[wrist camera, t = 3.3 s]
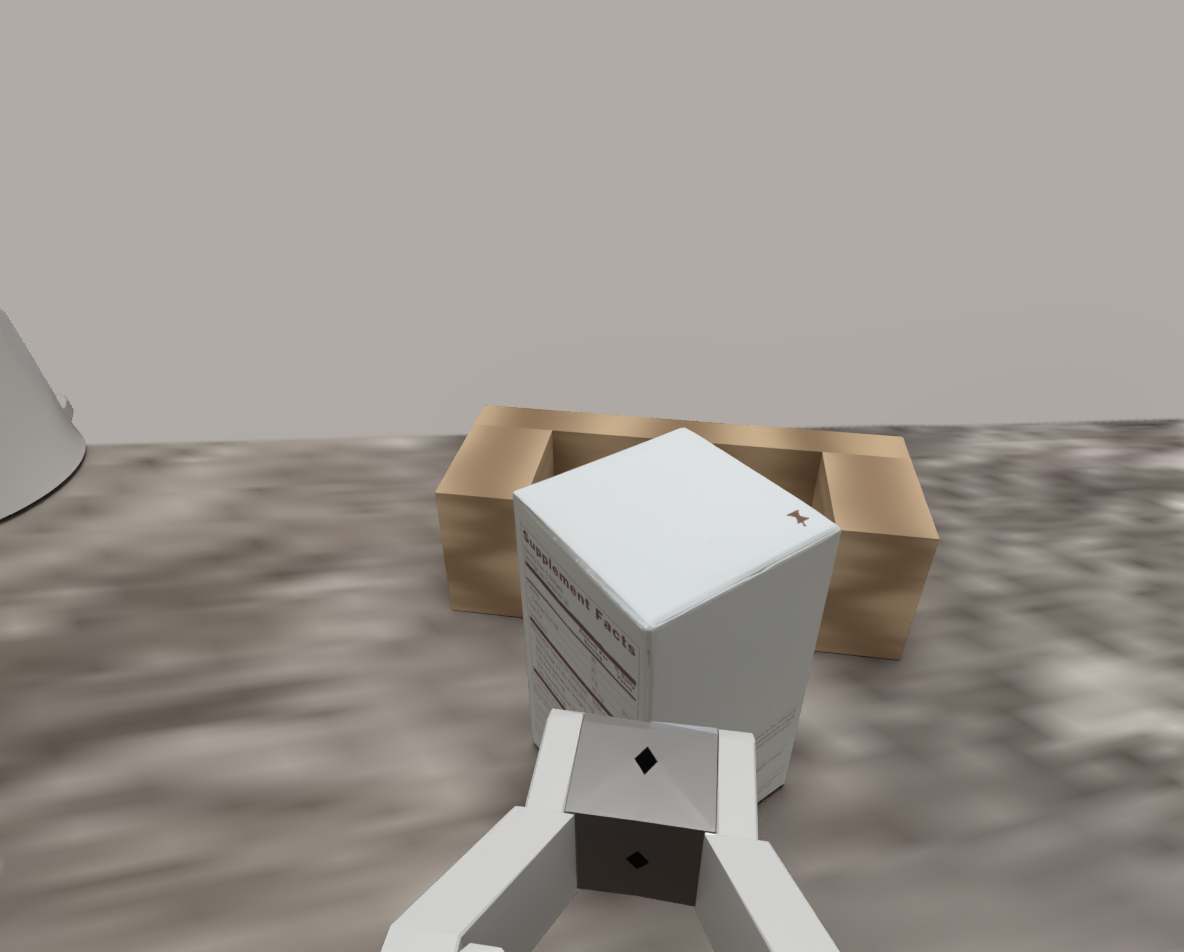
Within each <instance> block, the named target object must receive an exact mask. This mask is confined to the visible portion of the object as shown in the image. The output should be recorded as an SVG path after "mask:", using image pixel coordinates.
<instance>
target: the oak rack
mask: <svg viewBox="0 0 1184 952" xmlns="http://www.w3.org/2000/svg"><path fill="white" fill-rule="evenodd" d="M679 428H687V429H688V430H690V431H692V432H694V433H696V434H697V435H699V436H701V437H702V438H704V439H705V440H707V441H708V442H710V443H712V444H713V445H714V446H716V447H718V448H719V449H721V450H723V451H724V452H726V453H727V454H729V455H730V456H732V457H734V458H735V459H737V460H738V461H740V462H741V463H743V464H745V465H746V466H748V467H749V468H751V469H752V470H754V471H755V472H757V473H759V474H760V475H762V476H764V477H765V478H767V479H768V480H770V481H771V482H773V483H775V484H776V485H778V486H779V487H781V488H782V489H784V490H786V491H787V492H789V493H790V494H792V495H794V496H795V497H797V498H798V499H800V500H801V501H803V502H804V503H806V504H807V505H809V506H810V507H812V508H813V509H815V510H816V511H818V512H819V513H820V514H822V515H823V516H825V517H826V518H827V519H829V520H830V521H832V522H833V523H835V524H836V525H837V526H839V527H840V528H841V535H840V539H839V544H838V548H837V553H836V557H835V562H834V566H833V571H832V575H831V579H830V584H829V588H828V593H827V597H826V602H825V606H824V611H823V615H822V620H821V624H820V628H819V633H818V637H817V642H816V646H815V651H823V652H832V653H841V654H850V655H859V656H868V657H877V658H885V659H894V660H900V657H901V654H902V651H903V648H904V645H905V642H906V639H907V636H908V633H909V630H910V627H911V624H912V621H913V618H914V615H915V612H916V609H917V606H918V603H919V600H920V597H921V594H922V591H923V587H924V584H925V581H926V578H927V575H928V572H929V569H930V566H931V563H932V560H933V557H934V554H935V551H936V548H937V545H938V542H939V536H938V534H937V531H936V528H935V525H934V523H933V520H932V517H931V514H930V511H929V509H928V506H927V503H926V500H925V498H924V495H923V492H922V489H921V486H920V484H919V481H918V478H917V475H916V473H915V470H914V467H913V464H912V461H911V459H910V456H909V453H908V450H907V448H906V445H905V442H904V439H903V437H896V436H883V435H870V434H856V433H843V432H830V431H817V430H804V429H791V428H778V427H765V426H751V425H738V424H725V423H712V422H699V421H686V420H672V419H660V418H647V417H634V416H619V415H607V414H594V413H581V412H567V411H553V410H541V409H529V408H516V407H501V406H488V405H485V406H484V407H483V410H482V411H481V413H480V415H479V416H478V418H477V420H476V422H475V423H474V425H473V427H472V429H471V430H470V432H469V434H468V436H467V437H466V439H465V441H464V443H463V444H462V446H461V448H460V450H459V451H458V453H457V455H456V457H455V458H454V460H453V462H452V464H451V465H450V467H449V469H448V471H447V472H446V474H445V476H444V478H443V479H442V481H441V483H440V485H439V486H438V488H437V490H436V492H435V496H436V502H437V509H438V516H439V523H440V530H441V537H442V544H443V551H444V558H445V565H446V572H447V579H448V586H449V593H450V600H451V607H452V610H460V611H469V612H478V613H487V614H496V615H504V616H513V617H522V618H523V610H522V600H521V588H520V576H519V564H518V554H517V540H516V526H515V516H514V503H513V492H514V491H516V490H519V489H521V488H524V487H527V486H529V485H532V484H535V483H538V482H540V481H543V480H546V479H548V478H551V477H554V476H556V475H559V474H562V473H564V472H567V471H570V470H572V469H575V468H578V467H580V466H583V465H586V464H588V463H591V462H593V461H596V460H599V459H601V458H604V457H607V456H609V455H612V454H615V453H617V452H620V451H622V450H625V449H628V448H630V447H633V446H636V445H638V444H641V443H643V442H646V441H649V440H651V439H654V438H656V437H659V436H661V435H664V434H666V433H669V432H671V431H674V430H677V429H679Z"/></svg>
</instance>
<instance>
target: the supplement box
mask: <svg viewBox="0 0 1184 952" xmlns="http://www.w3.org/2000/svg"><path fill="white" fill-rule="evenodd" d="M513 503H514V516H515V526H516V540H517V554H518V564H519V576H520V588H521V600H522V610H523V624H524V636H525V649H526V662H527V676H528V688H529V702H530V715H531V728H532V737H533V741H534V743H535V744H536V745H537V746H538V748H539V749H540V745H541V741H542V737H543V733H544V729H545V725H546V721H547V718H548V716H549V714H550V712H551V710H552V708H553V709H561V710H569V711H577V712H584V713H591V714H597V715H604V716H611V717H617V718H624V719H631V720H637V721H644V722H651V721H656V722H665V723H674V724H683V725H693V726H702V727H711V728H717V731H718V730H719V729H721V730H729V731H738V732H747V733H752V734H753V736H754V739H755V752H756V785H757V803H758V802H759V801H760V800H762V799H763V798H764V797H766V796H767V795H768V794H770V793H771V792H773V791H774V790H775V789H777V788H778V787H779V786H781V785H782V784H784V783H785V782H786V775H787V770H788V766H789V761H790V757H791V753H792V748H793V744H794V739H795V735H796V730H797V726H798V721H799V717H800V712H801V708H802V704H803V699H804V695H805V690H806V686H807V682H808V678H809V673H810V668H811V664H812V660H813V655H814V651H815V646H816V642H817V637H818V633H819V628H820V624H821V620H822V615H823V611H824V606H825V602H826V597H827V593H828V588H829V584H830V579H831V575H832V571H833V566H834V562H835V557H836V553H837V548H838V544H839V539H840V535H841V528H840V527H839V526H837V525H836V524H835V523H833V522H832V521H830V520H829V519H827V518H826V517H825V516H823V515H822V514H820V513H819V512H818V511H816V510H815V509H813V508H812V507H810V506H809V505H807V504H806V503H804V502H803V501H801V500H800V499H798V498H797V497H795V496H794V495H792V494H790V493H789V492H787V491H786V490H784V489H782V488H781V487H779V486H778V485H776V484H775V483H773V482H771V481H770V480H768V479H767V478H765V477H764V476H762V475H760V474H759V473H757V472H755V471H754V470H752V469H751V468H749V467H748V466H746V465H745V464H743V463H741V462H740V461H738V460H737V459H735V458H734V457H732V456H730V455H729V454H727V453H726V452H724V451H723V450H721V449H719V448H718V447H716V446H714V445H713V444H712V443H710V442H708V441H707V440H705V439H704V438H702V437H701V436H699V435H697V434H696V433H694V432H692V431H690V430H688V429H687V428H679V429H677V430H674V431H671V432H669V433H666V434H664V435H661V436H659V437H656V438H654V439H651V440H649V441H646V442H643V443H641V444H638V445H636V446H633V447H630V448H628V449H625V450H622V451H620V452H617V453H615V454H612V455H609V456H607V457H604V458H601V459H599V460H596V461H593V462H591V463H588V464H586V465H583V466H580V467H578V468H575V469H572V470H570V471H567V472H564V473H562V474H559V475H556V476H554V477H551V478H548V479H546V480H543V481H540V482H538V483H535V484H532V485H529V486H527V487H524V488H521V489H519V490H516V491H514V492H513Z"/></svg>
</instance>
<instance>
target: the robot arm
mask: <svg viewBox="0 0 1184 952" xmlns="http://www.w3.org/2000/svg"><path fill="white" fill-rule="evenodd" d="M72 416H73V408H72V406H71V404H70V403H69V401H68V399H67V398H66V396H64V395H61V394H54V392H53V391H52V389H51V387H50V385H49V384H48V382H47V380H46V379H45V377H44V375H43V374H42V372H41V370H40V368H39V367H38V365H37V363H36V362H35V360H34V358H33V357H32V355H31V353H30V352H29V350H28V349H27V347H26V345H25V343H24V342H23V340H22V338H21V337H20V335H19V333H18V332H17V330H16V328H15V327H14V325H13V323H12V322H11V320H10V319H9V317H8V315H7V314H6V313H5V311H4V310H3V309H1V308H0V519H2V518H4V517H6V516H8V515H10V514H12V513H14V512H16V511H18V510H20V509H22V508H24V507H26V506H28V505H29V504H31V503H33V502H35V501H36V500H38V499H40V498H41V497H43V496H44V495H46V494H47V493H49V492H50V491H52V490H53V489H54V488H56V487H57V486H58V485H59V484H61V483H62V482H63V481H64V480H65V479H66V478H67V477H69V475H70V474H71V473H72V472H73V471H74V470H75V469H76V468H77V466H78V465H79V464H80V462H81V460H82V458H83V456H84V453H85V449H86V445H85V440H84V438H83V436H82V435H81V434H80V432H79V431H78V430H77V429H76V427H75V426H74V425H73V424H72V422H71V420H72ZM577 888H579V889H586V890H594V891H602V892H610V893H618V894H626V895H634V896H640V897H646V898H651V899H657V900H662V901H668V902H673V903H678V904H684V905H689V906H695V911H696V913H697V915H698V917H699V919H700V922H701V924H702V926H703V928H704V930H705V933H706V935H707V937H708V939H709V941H710V944H711V946H712V948H713V950H714V952H840V951H839V950H838V948H837V947H836V945H835V944H834V942H833V941H832V939H831V937H830V936H829V934H828V933H827V931H826V930H825V928H824V927H823V925H822V924H821V922H820V920H819V919H818V917H817V916H816V914H815V913H814V911H813V910H812V908H811V906H810V905H809V903H808V902H807V900H806V899H805V897H804V896H803V894H802V893H801V891H800V889H799V888H798V886H797V885H796V883H795V882H794V880H793V879H792V877H791V875H790V874H789V872H788V871H787V869H786V868H785V866H784V865H783V863H782V861H781V860H780V858H779V857H778V855H777V854H776V852H775V851H774V849H773V848H772V846H771V844H770V843H769V842H767V841H762V840H758V819H757V785H756V752H755V739H754V736H753V734H752V733H747V732H738V731H729V730H721V729H719V730H718V731H717V728H711V727H702V726H693V725H683V724H674V723H665V722H656V721H651V722H644V721H637V720H631V719H624V718H617V717H611V716H604V715H597V714H591V713H584V712H577V711H569V710H561V709H553V708H552V710H551V712H550V714H549V716H548V718H547V721H546V725H545V729H544V733H543V737H542V741H541V745H540V749H539V753H538V757H537V761H536V765H535V769H534V773H533V776H532V780H531V784H530V788H529V792H528V796H527V800H526V804H525V807H520V806H514V807H513V808H512V809H511V810H510V811H509V812H508V813H507V814H506V815H505V816H504V817H503V818H502V819H501V820H500V821H499V822H498V823H497V824H496V825H495V826H494V827H493V828H492V829H491V830H489V831H488V832H487V833H486V834H485V835H484V836H483V837H482V838H481V839H480V840H479V841H478V842H477V843H476V844H475V845H474V846H473V847H472V848H471V849H470V850H469V851H468V852H467V853H466V854H465V855H463V856H462V857H461V858H460V859H459V860H458V861H457V862H456V863H455V864H454V865H453V866H452V867H451V868H450V869H449V870H448V871H447V872H446V873H445V874H444V875H443V876H442V877H441V878H440V879H439V880H438V881H436V882H435V883H434V884H433V885H432V886H431V887H430V888H429V889H428V890H427V891H426V892H425V893H424V894H423V895H422V896H421V897H420V898H419V899H418V900H417V901H416V902H415V903H414V904H413V905H412V906H411V907H409V908H408V909H407V910H406V911H405V912H404V913H403V914H402V915H401V916H400V917H399V918H398V919H397V920H396V921H395V922H394V923H393V924H392V925H391V926H390V929H389V931H388V934H387V937H386V940H385V942H384V945H383V948H382V950H381V952H532V950H533V949H534V948H535V947H536V945H537V944H538V943H539V941H540V940H541V939H542V937H543V936H544V935H545V934H546V932H547V931H548V930H549V928H550V927H551V926H552V924H553V923H554V922H555V921H556V919H557V918H558V917H559V915H560V914H561V913H562V911H563V910H564V909H565V908H566V906H567V905H568V904H569V902H570V901H571V900H572V899H573V897H574V896H575V895H576V893H577Z"/></svg>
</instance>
